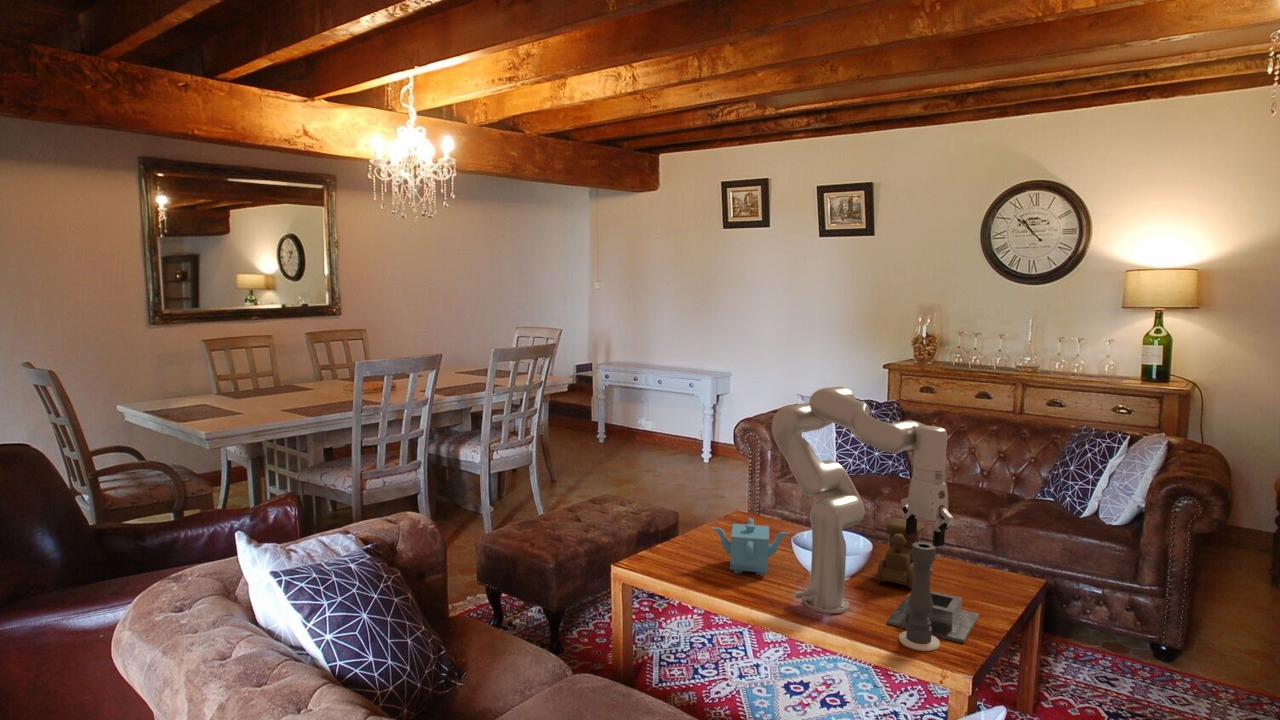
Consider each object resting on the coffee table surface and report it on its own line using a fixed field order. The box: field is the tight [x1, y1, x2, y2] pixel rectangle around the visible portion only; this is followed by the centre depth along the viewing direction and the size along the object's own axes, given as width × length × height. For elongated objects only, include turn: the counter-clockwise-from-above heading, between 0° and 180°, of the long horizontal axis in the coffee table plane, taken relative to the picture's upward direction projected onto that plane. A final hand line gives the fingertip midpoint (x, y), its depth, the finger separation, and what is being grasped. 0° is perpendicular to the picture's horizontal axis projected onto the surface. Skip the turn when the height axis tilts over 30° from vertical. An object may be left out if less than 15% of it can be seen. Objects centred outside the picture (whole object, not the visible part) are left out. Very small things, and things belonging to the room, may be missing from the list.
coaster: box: [898, 630, 941, 652], centre depth 205 cm, size 10×10×1 cm
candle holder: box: [906, 541, 937, 644], centre depth 204 cm, size 6×6×25 cm
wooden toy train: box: [876, 518, 924, 590], centre depth 248 cm, size 20×11×17 cm, turn 151°
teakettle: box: [711, 517, 790, 576], centre depth 255 cm, size 19×19×15 cm
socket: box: [886, 590, 980, 644], centre depth 218 cm, size 20×20×6 cm
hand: (924, 539), depth 203 cm, fingers open, 9 cm apart
